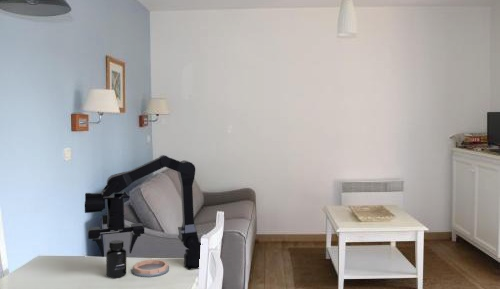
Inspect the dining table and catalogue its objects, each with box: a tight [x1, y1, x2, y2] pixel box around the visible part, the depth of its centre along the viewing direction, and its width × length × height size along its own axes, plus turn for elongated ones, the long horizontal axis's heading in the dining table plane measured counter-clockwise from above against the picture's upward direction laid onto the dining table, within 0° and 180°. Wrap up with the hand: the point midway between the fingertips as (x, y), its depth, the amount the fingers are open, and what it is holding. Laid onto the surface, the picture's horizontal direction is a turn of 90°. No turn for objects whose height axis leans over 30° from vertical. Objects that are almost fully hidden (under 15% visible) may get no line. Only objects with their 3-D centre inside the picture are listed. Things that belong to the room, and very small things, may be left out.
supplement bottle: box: [105, 239, 127, 279], centre depth 152 cm, size 7×7×12 cm
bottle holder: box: [132, 258, 170, 278], centre depth 157 cm, size 13×13×2 cm
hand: (116, 254), depth 152 cm, fingers open, 9 cm apart
